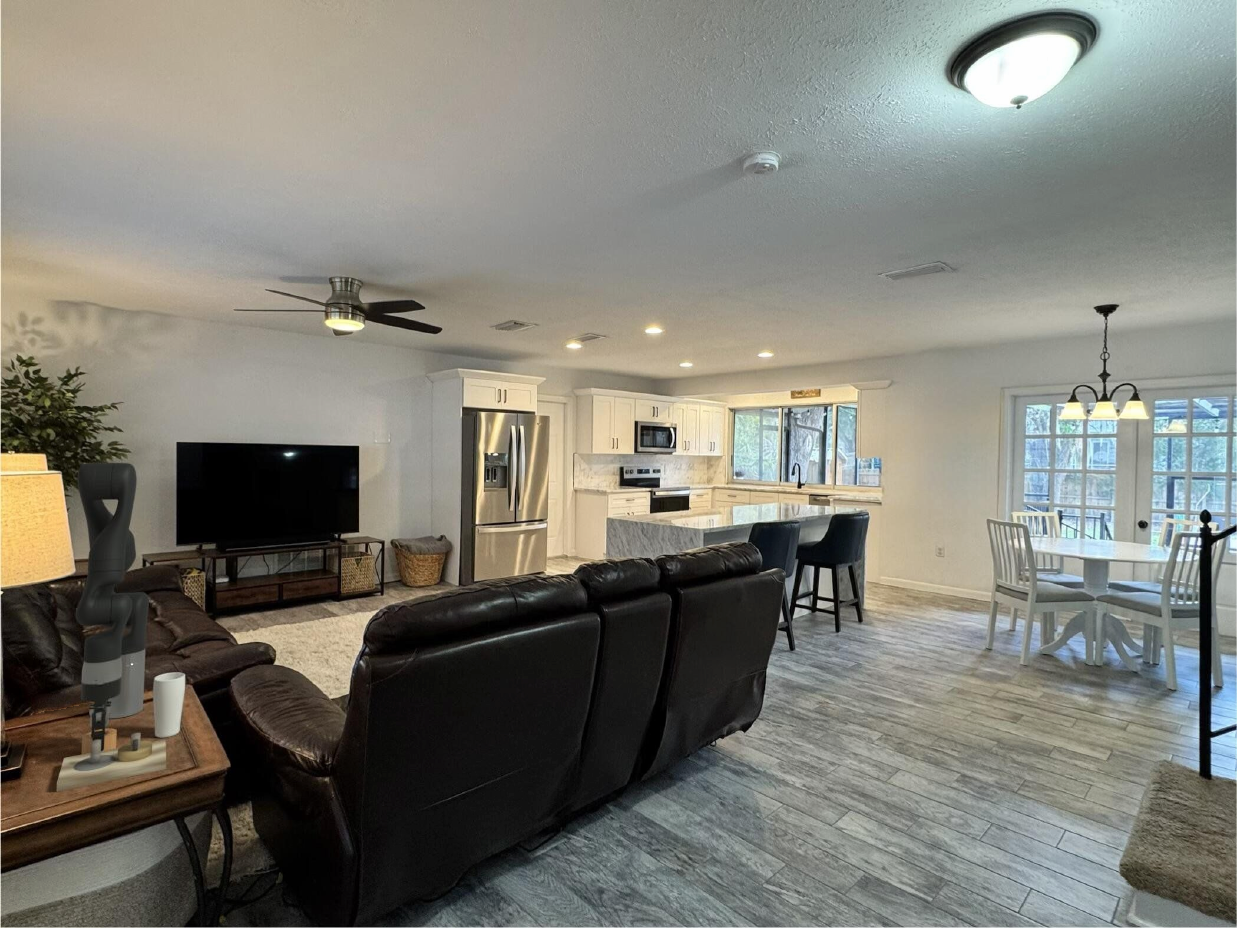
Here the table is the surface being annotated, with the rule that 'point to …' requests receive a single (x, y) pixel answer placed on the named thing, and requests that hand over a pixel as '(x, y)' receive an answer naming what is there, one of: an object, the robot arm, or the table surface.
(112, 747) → the gear
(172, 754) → the table surface
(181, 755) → the table surface
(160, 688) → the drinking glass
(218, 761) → the table surface
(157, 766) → the gear board
